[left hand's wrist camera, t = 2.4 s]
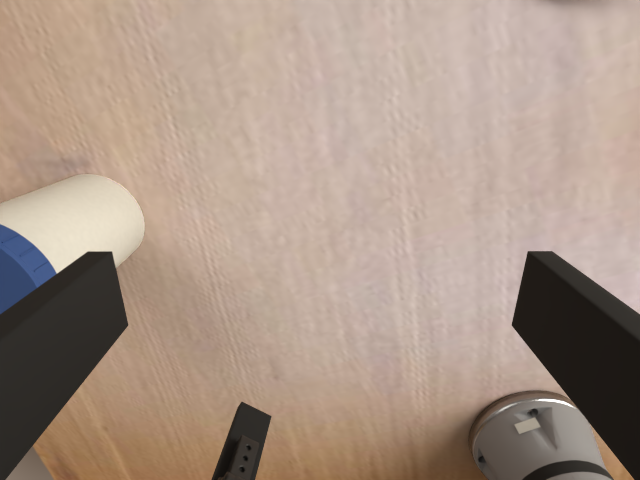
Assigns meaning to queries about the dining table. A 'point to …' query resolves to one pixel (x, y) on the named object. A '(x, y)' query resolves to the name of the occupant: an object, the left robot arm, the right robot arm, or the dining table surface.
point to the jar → (77, 219)
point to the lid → (20, 268)
